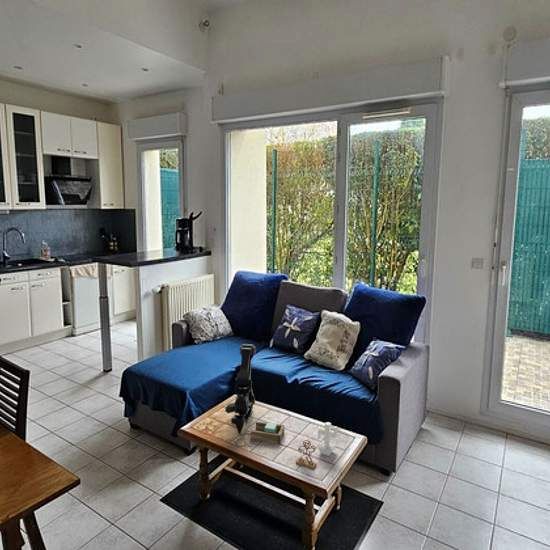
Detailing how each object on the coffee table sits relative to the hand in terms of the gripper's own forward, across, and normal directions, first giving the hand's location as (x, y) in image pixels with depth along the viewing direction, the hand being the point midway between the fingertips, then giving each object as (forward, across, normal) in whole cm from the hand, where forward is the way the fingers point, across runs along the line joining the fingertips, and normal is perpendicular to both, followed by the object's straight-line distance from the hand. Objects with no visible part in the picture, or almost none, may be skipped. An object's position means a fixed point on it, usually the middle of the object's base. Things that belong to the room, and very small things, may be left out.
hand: (242, 428), depth 216 cm
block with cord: (+2, 0, +8) cm, 8 cm away
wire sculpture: (+2, +18, +36) cm, 40 cm away
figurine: (+2, +6, +44) cm, 44 cm away
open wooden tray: (+2, 0, +14) cm, 14 cm away
